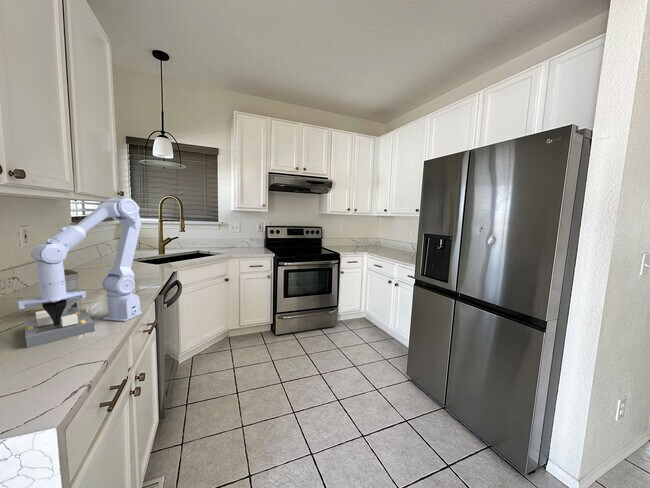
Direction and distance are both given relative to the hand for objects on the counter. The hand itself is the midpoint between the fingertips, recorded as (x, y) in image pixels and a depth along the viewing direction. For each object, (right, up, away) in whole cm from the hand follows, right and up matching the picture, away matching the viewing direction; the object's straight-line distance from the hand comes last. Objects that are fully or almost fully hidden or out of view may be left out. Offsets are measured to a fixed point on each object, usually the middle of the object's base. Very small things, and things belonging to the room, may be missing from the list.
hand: (56, 324), depth 83 cm
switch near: (+2, 0, +2) cm, 3 cm away
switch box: (-4, -3, +5) cm, 7 cm away
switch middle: (-6, 0, +2) cm, 6 cm away
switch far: (-10, 0, +6) cm, 11 cm away
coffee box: (-16, -1, +20) cm, 26 cm away
